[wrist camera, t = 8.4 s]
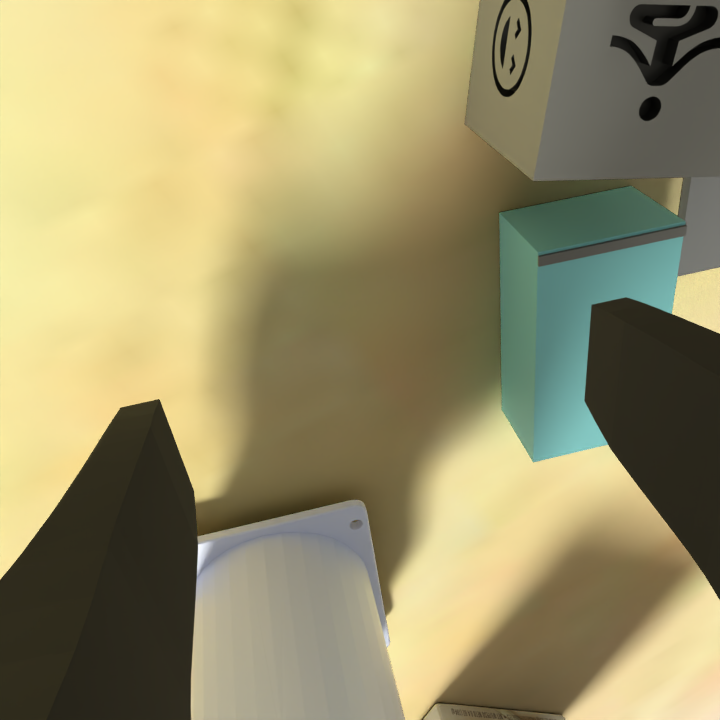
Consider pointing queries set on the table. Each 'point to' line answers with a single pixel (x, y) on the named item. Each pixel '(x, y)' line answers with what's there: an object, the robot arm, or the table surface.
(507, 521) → the table surface
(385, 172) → the table surface
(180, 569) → the robot arm
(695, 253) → the stub pad
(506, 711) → the coffee box
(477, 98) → the dice cube
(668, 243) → the turquoise box
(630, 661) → the table surface
